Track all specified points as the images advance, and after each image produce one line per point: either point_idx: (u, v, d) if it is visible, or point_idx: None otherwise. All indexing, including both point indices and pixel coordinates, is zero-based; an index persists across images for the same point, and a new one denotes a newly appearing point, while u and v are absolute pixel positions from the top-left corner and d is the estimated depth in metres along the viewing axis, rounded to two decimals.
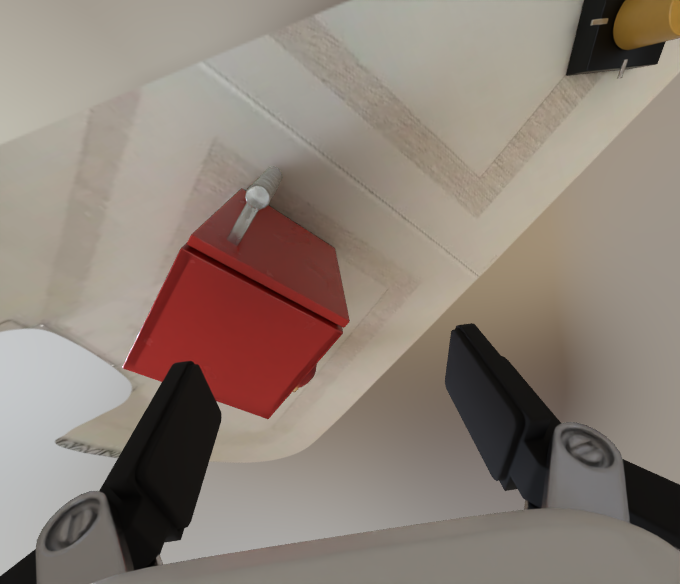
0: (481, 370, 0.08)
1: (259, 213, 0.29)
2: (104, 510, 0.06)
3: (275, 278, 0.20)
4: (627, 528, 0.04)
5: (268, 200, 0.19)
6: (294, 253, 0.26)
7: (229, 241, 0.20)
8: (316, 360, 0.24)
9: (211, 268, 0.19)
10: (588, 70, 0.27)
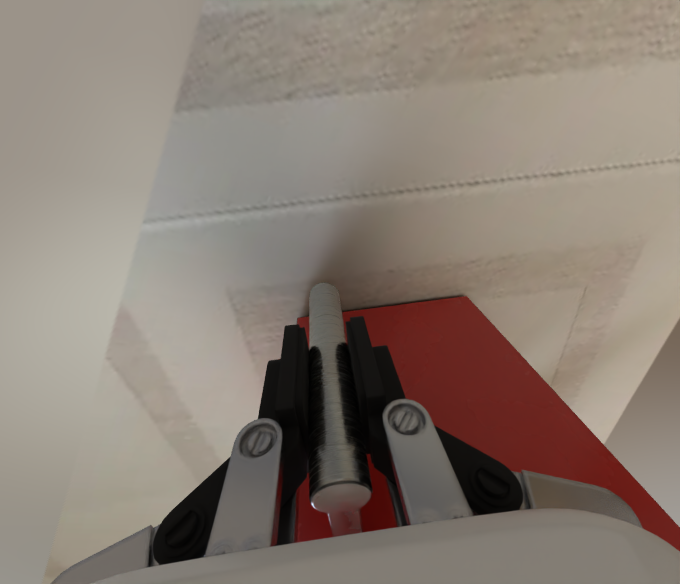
0: (351, 356, 0.09)
1: None
2: (280, 431, 0.07)
3: None
4: (627, 528, 0.04)
5: (367, 490, 0.07)
6: (443, 406, 0.13)
7: None
8: None
9: None
10: None
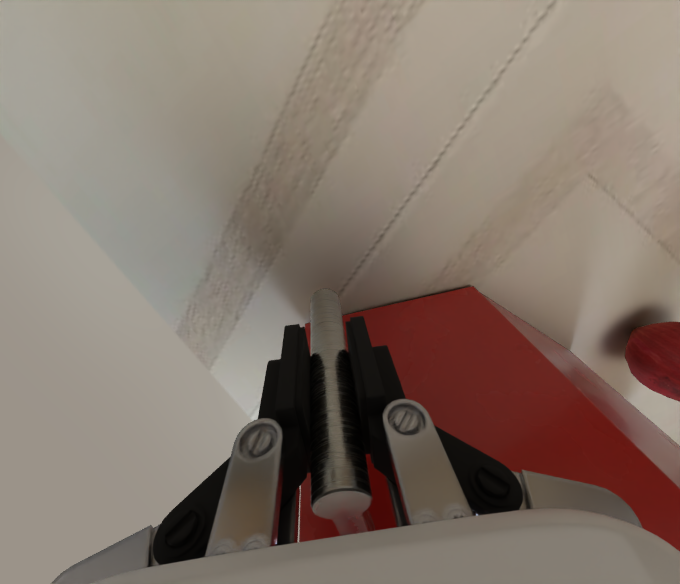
0: (351, 356, 0.09)
1: None
2: (280, 431, 0.07)
3: None
4: (627, 528, 0.04)
5: (365, 496, 0.07)
6: (452, 403, 0.13)
7: None
8: None
9: None
10: None
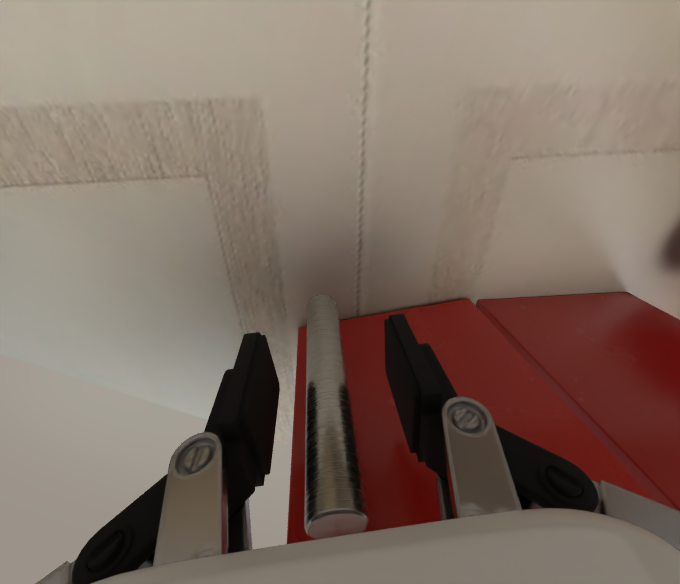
0: (398, 354, 0.09)
1: None
2: (220, 446, 0.07)
3: None
4: (627, 528, 0.04)
5: (362, 519, 0.07)
6: None
7: None
8: None
9: None
10: None
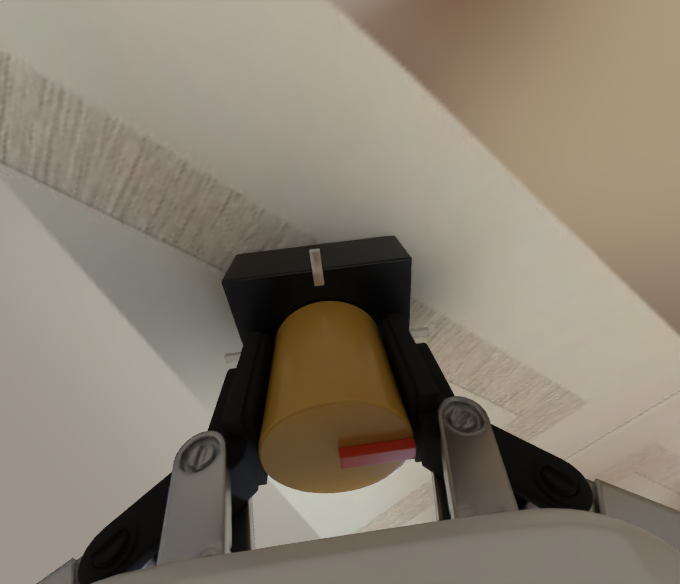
0: (395, 353, 0.09)
1: None
2: (224, 444, 0.07)
3: None
4: (627, 528, 0.04)
5: None
6: None
7: None
8: None
9: None
10: None
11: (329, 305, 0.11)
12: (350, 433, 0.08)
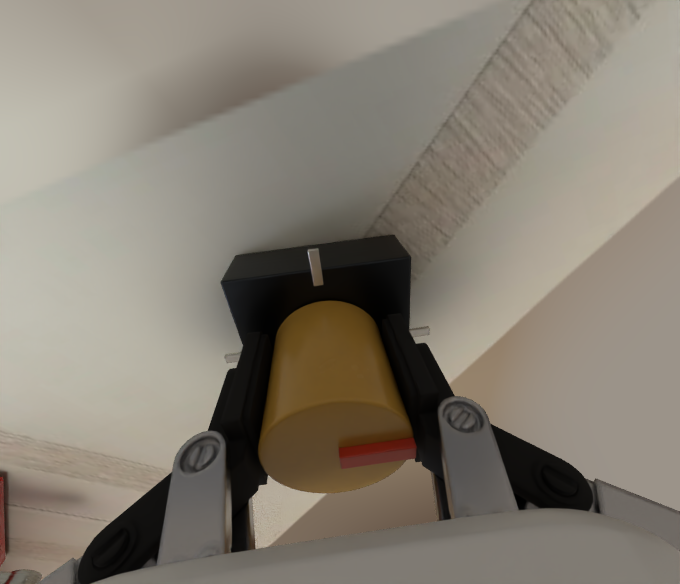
0: (395, 353, 0.09)
1: None
2: (224, 444, 0.07)
3: None
4: (627, 528, 0.04)
5: None
6: None
7: None
8: None
9: None
10: None
11: (329, 305, 0.11)
12: (350, 433, 0.08)
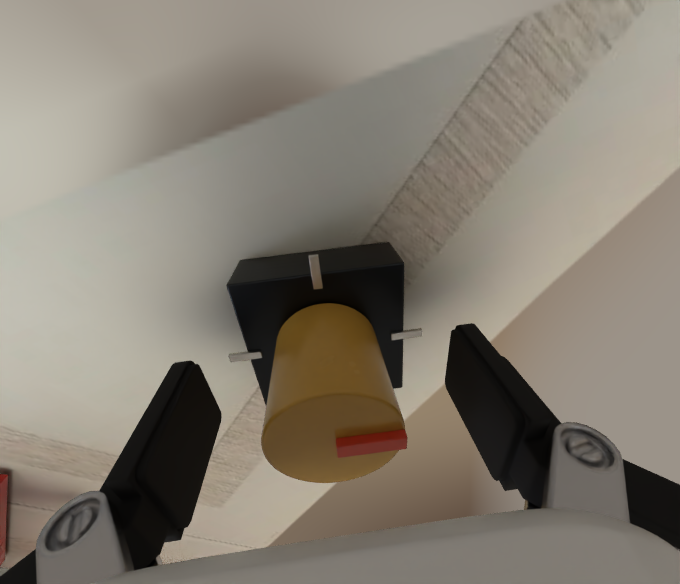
0: (481, 370, 0.08)
1: None
2: (104, 510, 0.06)
3: None
4: (627, 528, 0.04)
5: None
6: None
7: None
8: None
9: None
10: None
11: (328, 307, 0.11)
12: (346, 424, 0.08)
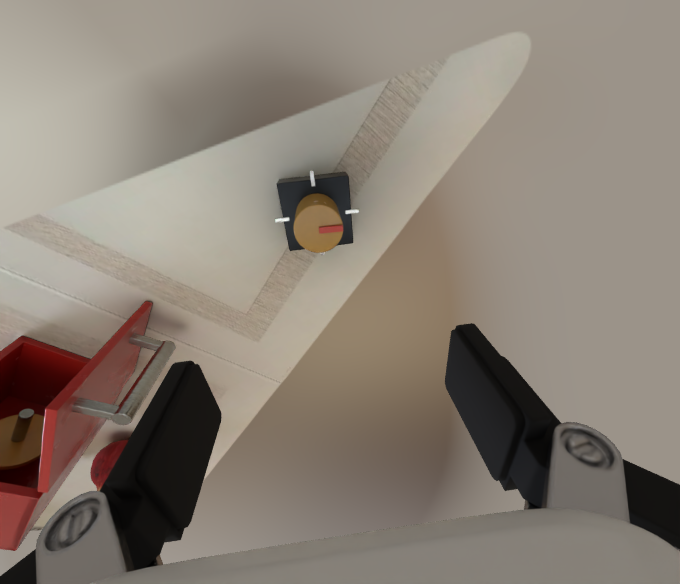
0: (481, 370, 0.08)
1: (129, 342, 0.33)
2: (104, 510, 0.06)
3: (54, 451, 0.25)
4: (627, 528, 0.04)
5: (122, 424, 0.26)
6: (99, 398, 0.31)
7: (71, 407, 0.24)
8: (28, 515, 0.28)
9: None
10: (291, 250, 0.31)
11: (317, 194, 0.28)
12: (322, 219, 0.25)
